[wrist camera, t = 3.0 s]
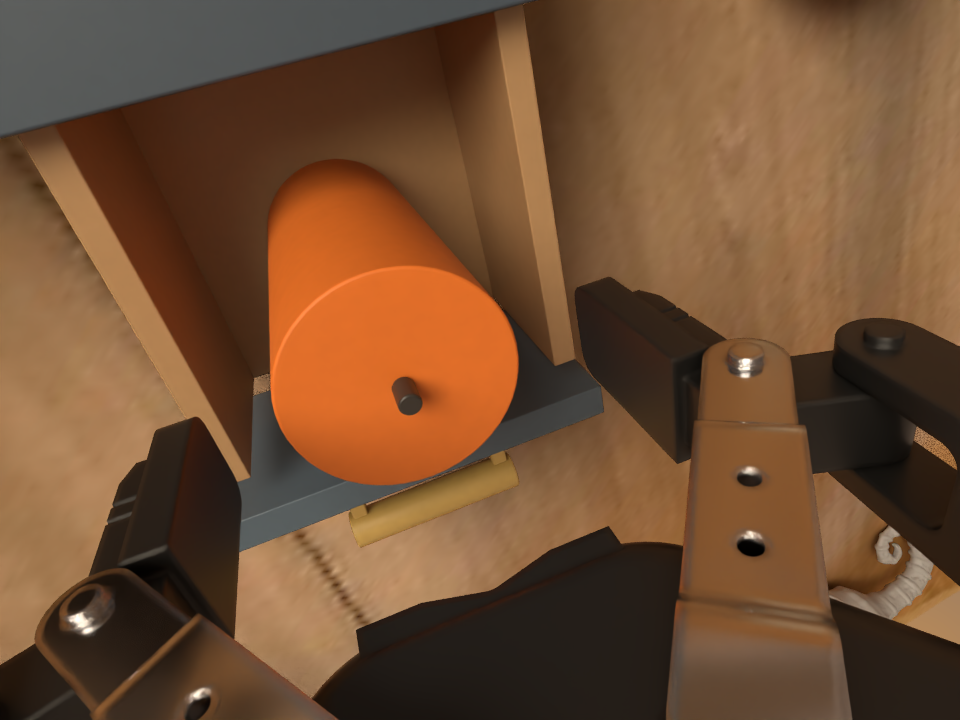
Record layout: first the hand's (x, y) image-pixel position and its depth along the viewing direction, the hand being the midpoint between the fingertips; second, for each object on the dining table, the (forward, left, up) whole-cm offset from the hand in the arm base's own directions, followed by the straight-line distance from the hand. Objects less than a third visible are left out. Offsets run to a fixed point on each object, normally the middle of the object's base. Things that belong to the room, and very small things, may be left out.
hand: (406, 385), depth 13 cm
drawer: (0, -1, -13) cm, 13 cm away
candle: (0, 0, -12) cm, 12 cm away
